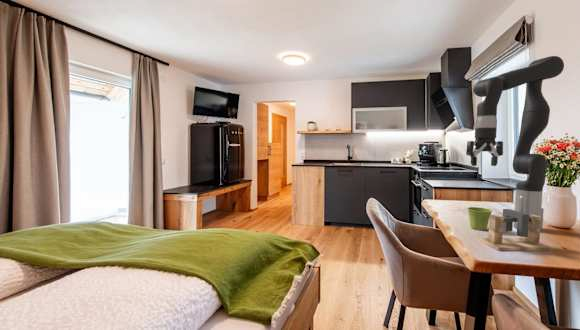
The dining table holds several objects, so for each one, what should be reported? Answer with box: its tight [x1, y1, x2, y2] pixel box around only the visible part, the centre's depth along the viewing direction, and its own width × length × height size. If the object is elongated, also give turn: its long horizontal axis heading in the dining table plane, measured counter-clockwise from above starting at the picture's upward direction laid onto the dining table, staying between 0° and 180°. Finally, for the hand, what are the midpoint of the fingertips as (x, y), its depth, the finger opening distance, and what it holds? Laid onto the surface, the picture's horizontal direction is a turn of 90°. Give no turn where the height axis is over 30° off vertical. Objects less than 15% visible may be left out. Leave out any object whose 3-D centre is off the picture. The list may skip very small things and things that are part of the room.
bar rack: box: [476, 214, 554, 252], centre depth 109 cm, size 20×11×11 cm, turn 92°
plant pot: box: [466, 206, 493, 231], centre depth 132 cm, size 9×9×9 cm
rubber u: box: [502, 208, 529, 238], centre depth 109 cm, size 2×9×8 cm, turn 3°
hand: (483, 165), depth 126 cm, fingers open, 8 cm apart
